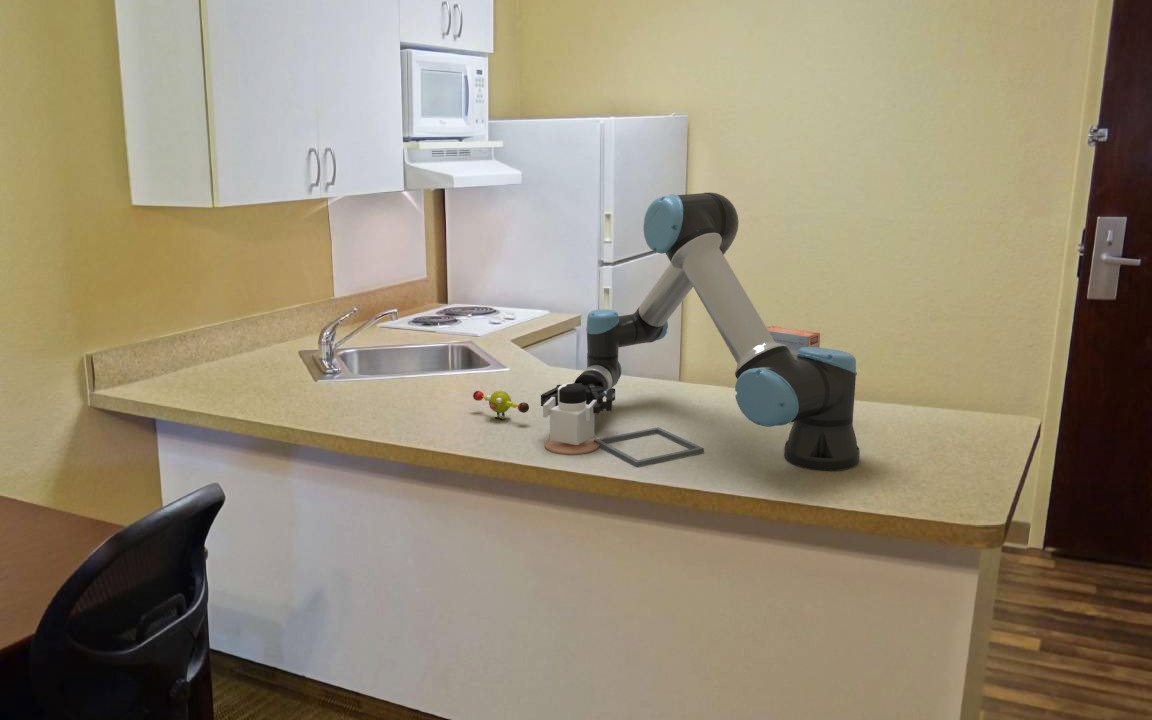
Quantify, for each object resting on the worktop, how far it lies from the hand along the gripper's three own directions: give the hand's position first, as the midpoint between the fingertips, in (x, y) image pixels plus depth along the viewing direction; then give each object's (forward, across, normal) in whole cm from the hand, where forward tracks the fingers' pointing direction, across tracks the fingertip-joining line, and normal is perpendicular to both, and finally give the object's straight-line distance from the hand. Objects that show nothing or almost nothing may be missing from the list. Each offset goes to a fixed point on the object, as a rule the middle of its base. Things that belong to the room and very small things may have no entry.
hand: (566, 412), depth 202 cm
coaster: (-5, 0, -9) cm, 10 cm away
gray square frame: (-7, -16, -9) cm, 20 cm away
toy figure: (-19, +22, -9) cm, 31 cm away
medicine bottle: (-5, 0, -7) cm, 9 cm away
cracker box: (-38, -43, -9) cm, 58 cm away
